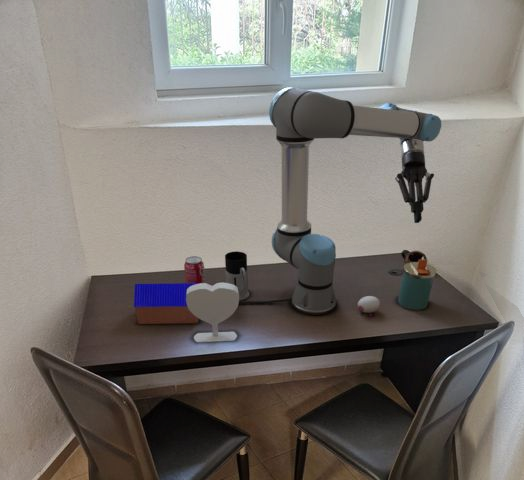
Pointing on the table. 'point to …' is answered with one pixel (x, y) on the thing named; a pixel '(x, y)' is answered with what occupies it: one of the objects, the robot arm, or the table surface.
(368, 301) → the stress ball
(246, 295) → the grey coffee mug
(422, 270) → the slider
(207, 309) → the heart sculpture
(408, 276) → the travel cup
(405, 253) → the pottery mug
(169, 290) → the house
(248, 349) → the table surface
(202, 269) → the soda can
